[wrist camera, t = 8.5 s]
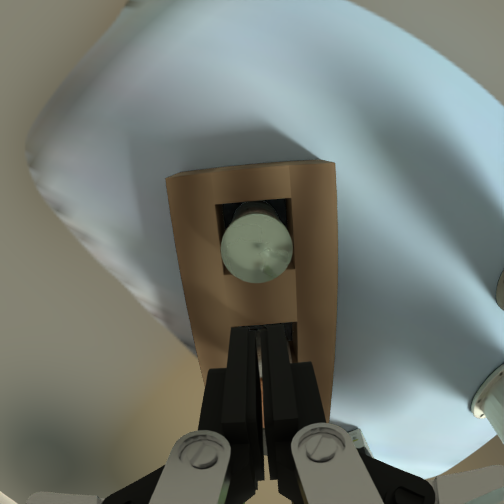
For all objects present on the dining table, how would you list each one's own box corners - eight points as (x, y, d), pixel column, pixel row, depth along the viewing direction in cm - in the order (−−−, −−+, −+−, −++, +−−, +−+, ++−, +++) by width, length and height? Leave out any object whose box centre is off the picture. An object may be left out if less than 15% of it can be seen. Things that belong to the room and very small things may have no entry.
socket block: (320, 159, 26) (335, 162, 21) (320, 413, 36) (326, 443, 31) (180, 172, 26) (165, 178, 22) (225, 421, 36) (222, 451, 31)
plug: (280, 194, 27) (290, 212, 20) (284, 246, 28) (294, 280, 21) (225, 198, 27) (216, 218, 20) (231, 250, 28) (225, 285, 21)
